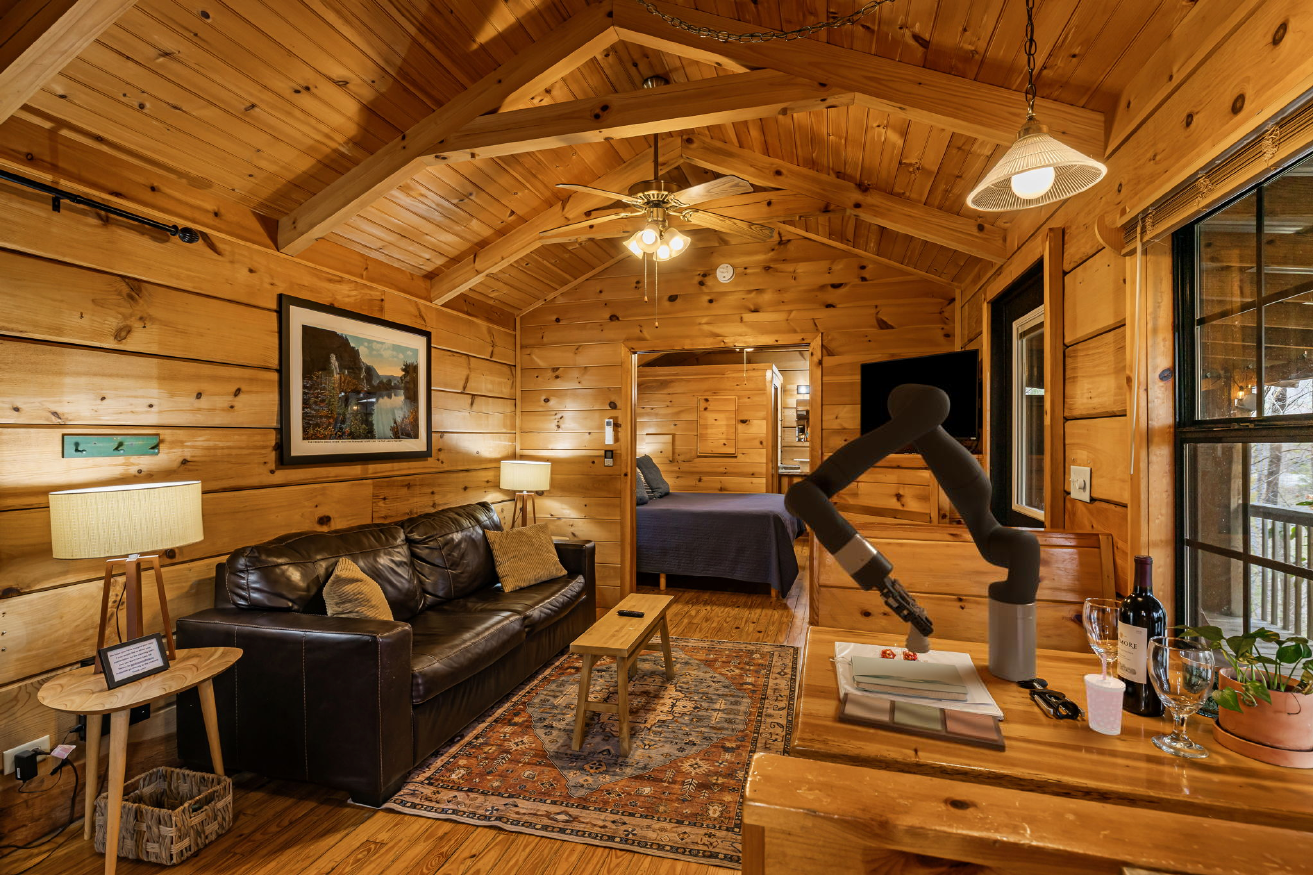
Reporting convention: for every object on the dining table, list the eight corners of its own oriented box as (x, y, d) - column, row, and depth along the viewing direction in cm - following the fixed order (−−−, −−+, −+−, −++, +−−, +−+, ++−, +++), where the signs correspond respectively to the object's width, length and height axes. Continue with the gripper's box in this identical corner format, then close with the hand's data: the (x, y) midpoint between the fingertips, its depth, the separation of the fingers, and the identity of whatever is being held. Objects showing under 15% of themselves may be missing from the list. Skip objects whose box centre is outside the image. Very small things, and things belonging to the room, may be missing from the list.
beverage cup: (1083, 717, 113) (1083, 645, 113) (1124, 726, 110) (1124, 652, 109) (1084, 730, 108) (1084, 655, 108) (1126, 740, 105) (1126, 663, 104)
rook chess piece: (933, 654, 109) (933, 612, 109) (907, 653, 110) (908, 611, 110) (927, 646, 114) (927, 605, 113) (902, 644, 115) (902, 603, 114)
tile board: (844, 696, 123) (844, 690, 123) (996, 721, 112) (996, 714, 112) (838, 721, 113) (838, 714, 113) (1005, 751, 102) (1005, 743, 102)
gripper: (874, 556, 108) (947, 630, 103) (878, 542, 121) (943, 607, 116) (844, 581, 110) (914, 655, 106) (851, 565, 123) (913, 630, 119)
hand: (929, 630), depth 111 cm, fingers closed on rook chess piece, 3 cm apart
